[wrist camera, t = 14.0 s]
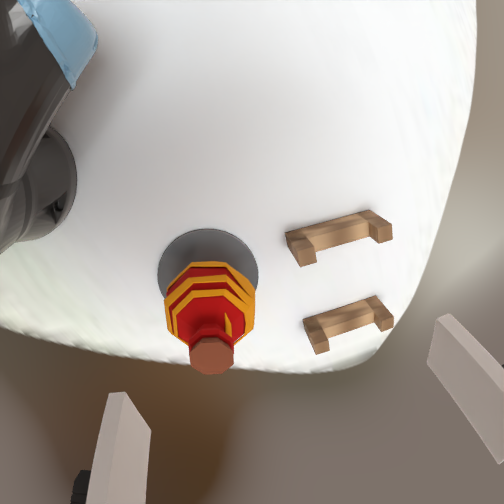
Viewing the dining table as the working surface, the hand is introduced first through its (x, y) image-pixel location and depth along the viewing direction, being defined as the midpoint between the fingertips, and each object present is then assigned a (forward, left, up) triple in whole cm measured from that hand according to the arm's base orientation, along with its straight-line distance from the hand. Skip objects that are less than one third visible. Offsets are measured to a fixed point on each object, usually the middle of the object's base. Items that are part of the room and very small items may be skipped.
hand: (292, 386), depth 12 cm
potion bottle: (-6, -9, -28) cm, 30 cm away
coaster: (-6, -9, -29) cm, 31 cm away
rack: (+11, -14, -29) cm, 34 cm away
